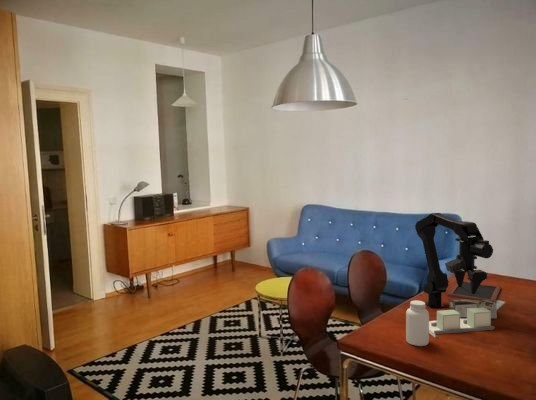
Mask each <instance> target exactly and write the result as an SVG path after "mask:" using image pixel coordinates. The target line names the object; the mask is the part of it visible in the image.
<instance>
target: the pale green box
mask: <svg viewBox="0 0 536 400" xmlns="http://www.w3.org/2000/svg"><path fill="white" fill-rule="evenodd" d="M460 319H461V317H460V313H458V312H457V311H455V310H450V309H446V310H445V309H442V310H436V321H437V328H439V329H440V330H448V329H460Z"/></svg>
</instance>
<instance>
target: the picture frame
mask: <svg viewBox="0 0 536 400" xmlns="http://www.w3.org/2000/svg"><path fill="white" fill-rule="evenodd" d="M500 291H501V285H500V286H499V285H495V284H494V285H493V284H485V283H481V284H480V286H479V287H478V289H477V291H476V292H475V294H472V293H471V284H470V281H469V282H468V281H463V284H462V287H458V284H457V282H456V283H455V284H454V285H453V287H452V288H451V289H450V291H448V293H447V297H448V298H449V297H450V298H455V299H460V300H488V301H491V302H494V303H496V300H497V298H498V296H499V293H500Z"/></svg>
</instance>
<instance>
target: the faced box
mask: <svg viewBox="0 0 536 400" xmlns="http://www.w3.org/2000/svg"><path fill="white" fill-rule="evenodd" d="M466 318H467V325H468V326H470V327H471V328H473V327H485V326H492V325H491V324H492V318H491V311H490V310H488V309H486V308H484V307H481V308H468V309H467V317H466Z"/></svg>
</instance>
